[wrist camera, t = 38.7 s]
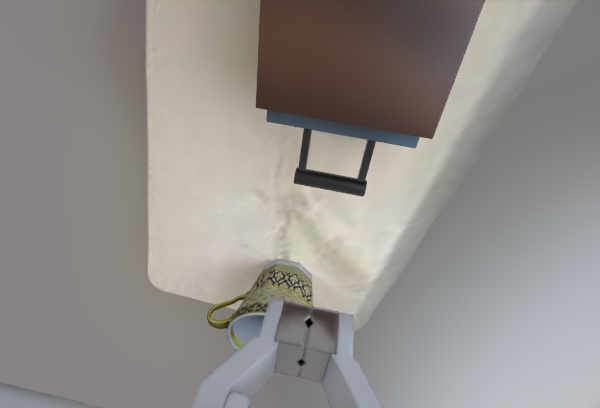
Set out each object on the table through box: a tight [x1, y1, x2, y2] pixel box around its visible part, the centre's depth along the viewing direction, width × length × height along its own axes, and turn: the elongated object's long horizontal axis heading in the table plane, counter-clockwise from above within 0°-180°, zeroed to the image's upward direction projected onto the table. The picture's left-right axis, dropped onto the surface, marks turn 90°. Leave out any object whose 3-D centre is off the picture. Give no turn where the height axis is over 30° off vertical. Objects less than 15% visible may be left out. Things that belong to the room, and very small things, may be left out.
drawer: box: [267, 110, 419, 197], centre depth 24 cm, size 19×11×7 cm, turn 173°
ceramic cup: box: [207, 259, 313, 351], centre depth 40 cm, size 13×10×10 cm
